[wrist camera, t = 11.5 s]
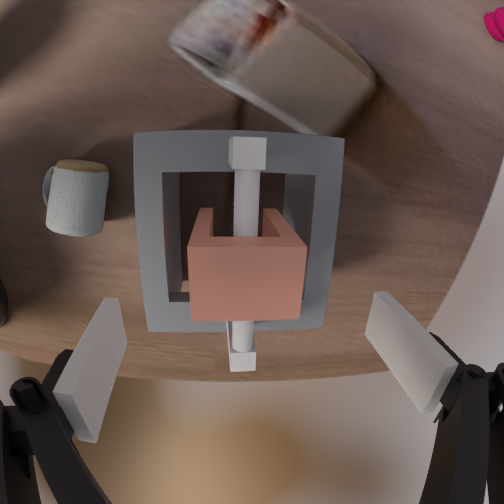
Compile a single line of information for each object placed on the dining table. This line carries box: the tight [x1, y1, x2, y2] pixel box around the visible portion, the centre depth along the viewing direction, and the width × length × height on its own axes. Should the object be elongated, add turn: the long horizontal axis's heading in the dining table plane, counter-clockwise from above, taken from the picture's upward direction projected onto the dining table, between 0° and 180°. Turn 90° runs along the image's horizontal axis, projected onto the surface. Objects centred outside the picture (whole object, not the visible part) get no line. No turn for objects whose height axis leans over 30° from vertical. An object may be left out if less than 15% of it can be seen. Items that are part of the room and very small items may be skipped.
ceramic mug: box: [43, 159, 109, 237], centre depth 31 cm, size 11×8×8 cm
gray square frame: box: [133, 130, 345, 372], centre depth 29 cm, size 18×19×19 cm
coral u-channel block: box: [187, 208, 307, 321], centre depth 24 cm, size 7×5×11 cm
